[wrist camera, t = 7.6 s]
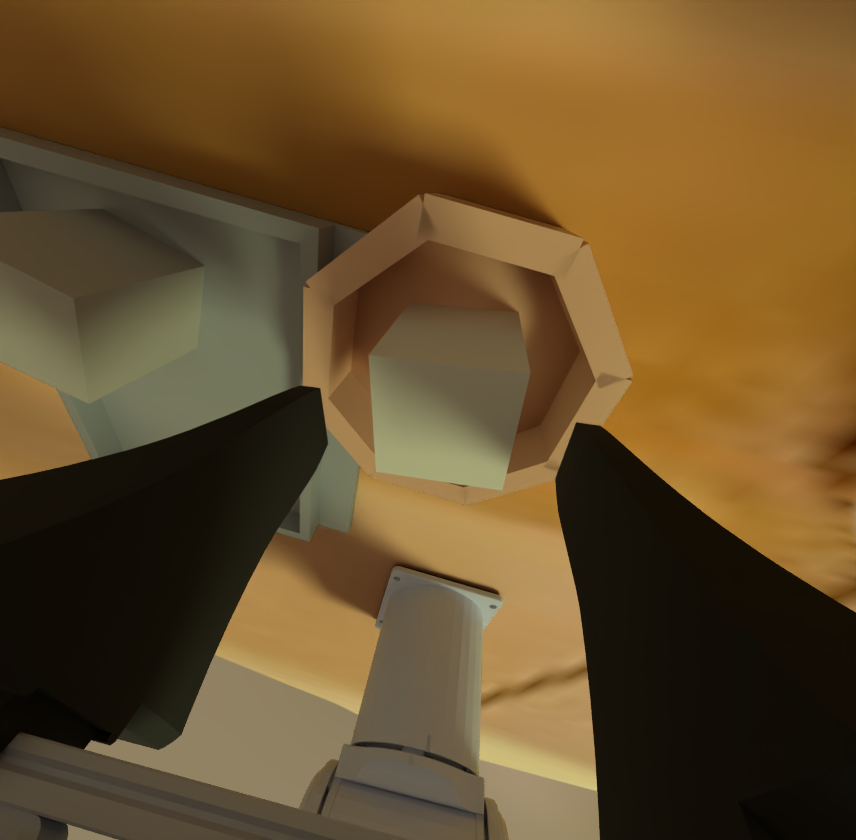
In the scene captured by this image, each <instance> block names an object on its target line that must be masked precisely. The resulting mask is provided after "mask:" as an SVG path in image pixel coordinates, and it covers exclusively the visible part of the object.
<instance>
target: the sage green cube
mask: <svg viewBox="0 0 856 840" xmlns="http://www.w3.org/2000/svg"><path fill="white" fill-rule="evenodd" d="M369 370H370V386H371V402H372V417H373V433H374V449H375V464H376V472H381V473H387V474H394V475H401V476H407V477H414V478H421V479H427V480H434V481H441V482H448V483H454V484H461V485H468V486H474V487H481V488H488V489H494V490H501V491H502V490H503V486H504V482H505V477H506V473H507V469H508V465H509V461H510V456H511V452H512V448H513V444H514V440H515V436H516V431H517V427H518V423H519V419H520V415H521V411H522V406H523V402H524V398H525V394H526V390H527V385H528V381H529V377H530V368H529V363H528V358H527V353H526V348H525V342H524V337H523V332H522V327H521V322H520V317H519V312H511V311H500V310H489V309H477V308H466V307H455V306H444V305H433V304H421V303H409V304H408V306H407V307H406V308H405V309H404V311H403V312H402V313H401V314H400V316H399V317H398V318H397V320H396V321H395V322H394V323H393V325H392V326H391V327H390V328H389V330H388V331H387V332H386V334H385V335H384V336H383V337H382V339H381V340H380V341H379V342H378V344H377V345H376V346H375V348H374V349H373V350H372V351H371V353H370V354H369Z"/></svg>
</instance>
